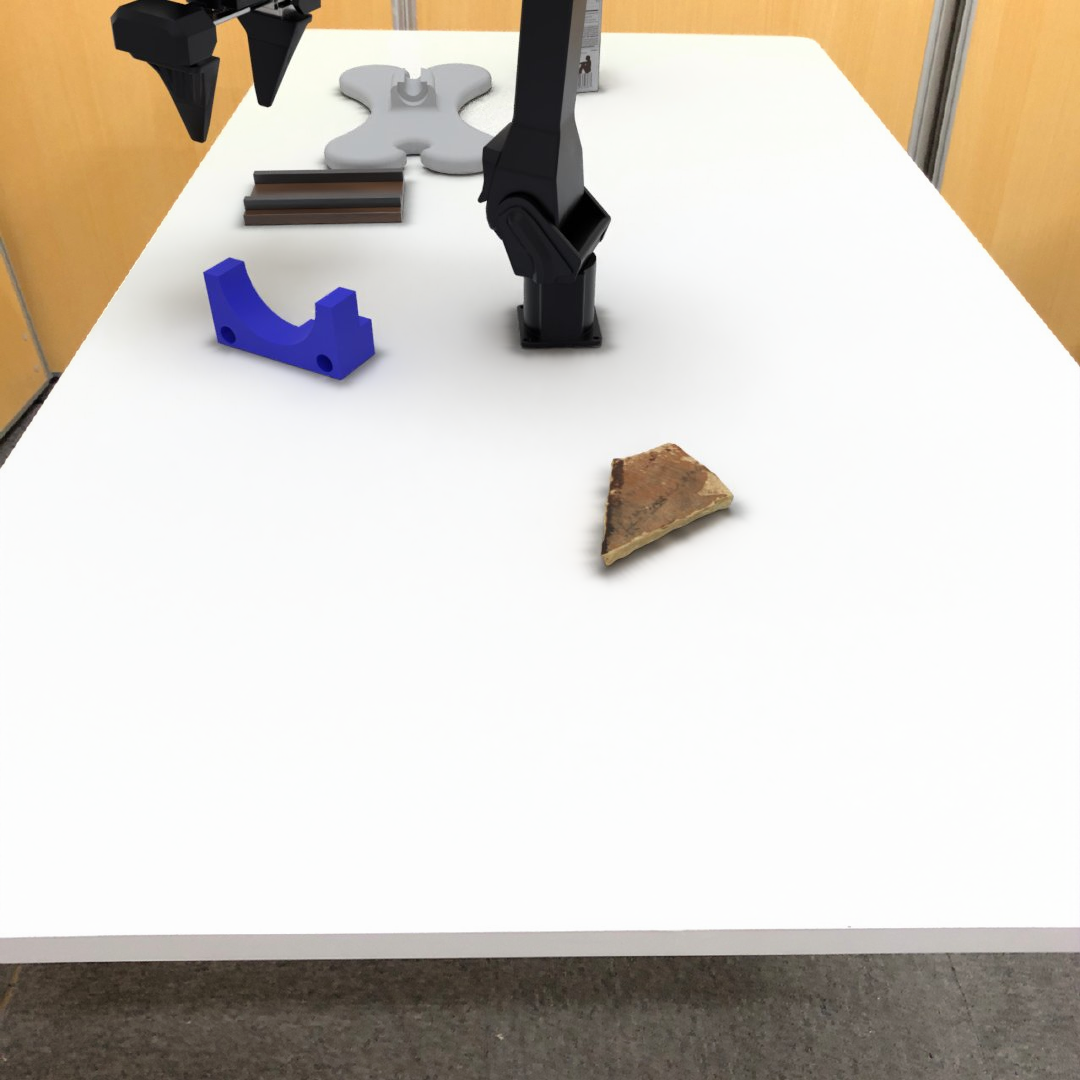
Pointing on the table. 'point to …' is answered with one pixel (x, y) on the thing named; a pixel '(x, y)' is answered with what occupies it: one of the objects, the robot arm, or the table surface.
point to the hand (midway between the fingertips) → (233, 123)
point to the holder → (412, 119)
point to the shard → (656, 498)
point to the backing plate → (325, 196)
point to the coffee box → (590, 48)
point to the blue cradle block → (288, 325)
